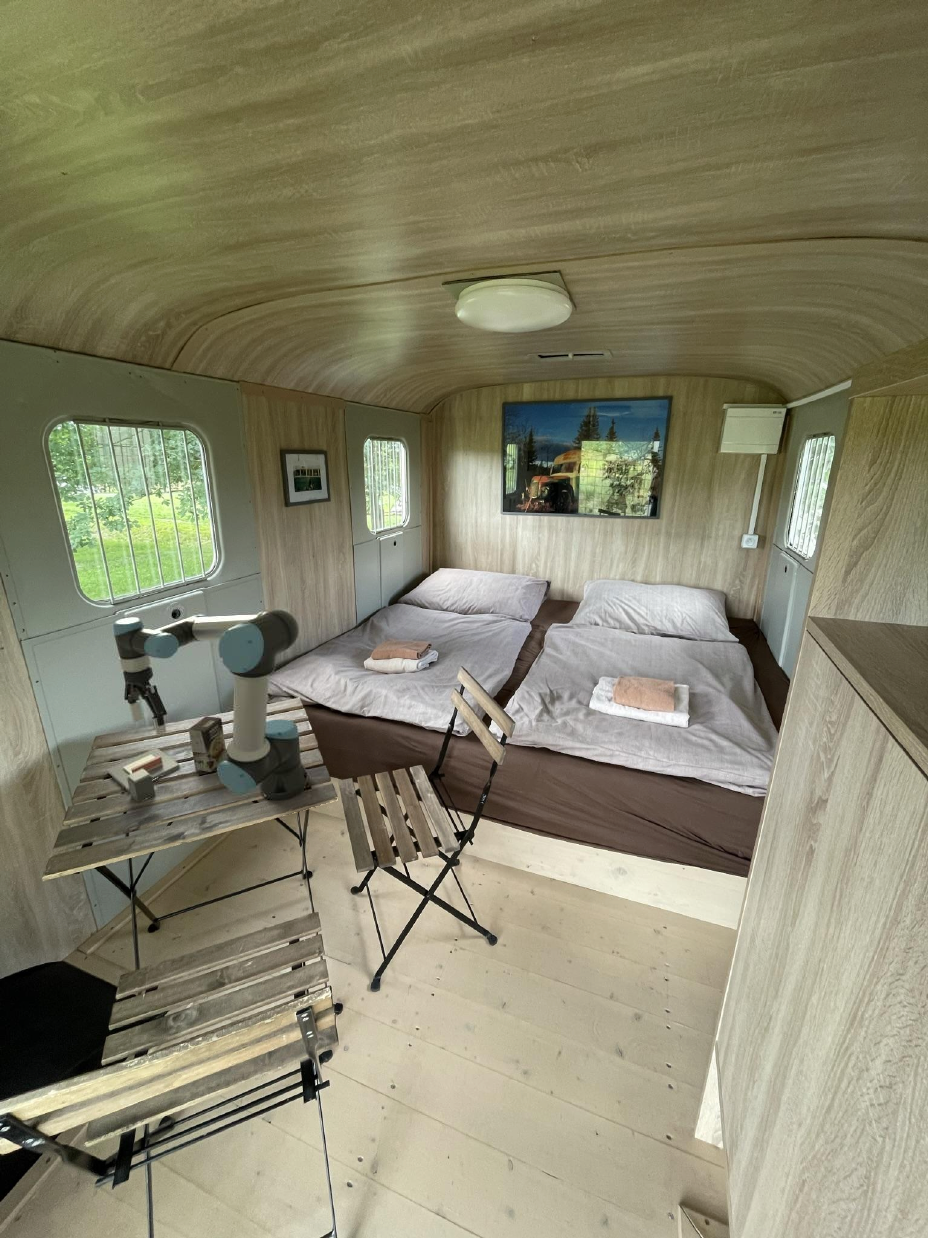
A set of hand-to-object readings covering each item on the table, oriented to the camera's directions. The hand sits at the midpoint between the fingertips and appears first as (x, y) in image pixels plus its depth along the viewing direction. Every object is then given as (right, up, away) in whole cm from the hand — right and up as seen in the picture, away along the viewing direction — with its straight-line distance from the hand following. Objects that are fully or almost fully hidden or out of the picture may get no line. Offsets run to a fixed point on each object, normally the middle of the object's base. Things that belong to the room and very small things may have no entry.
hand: (149, 727), depth 161 cm
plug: (-1, -22, -2) cm, 22 cm away
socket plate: (-8, -17, +10) cm, 21 cm away
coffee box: (+13, -16, +15) cm, 25 cm away
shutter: (-8, -15, +9) cm, 20 cm away
